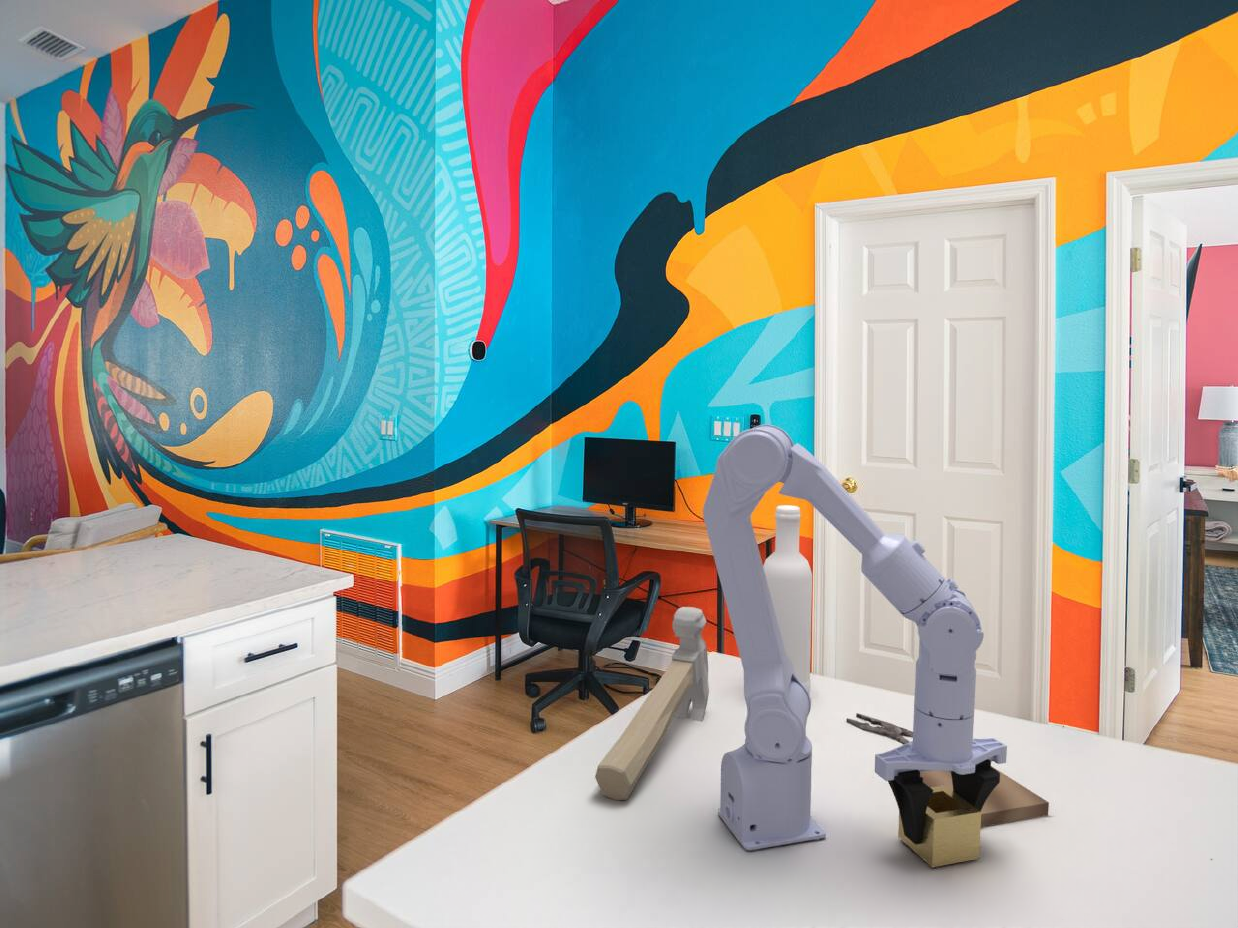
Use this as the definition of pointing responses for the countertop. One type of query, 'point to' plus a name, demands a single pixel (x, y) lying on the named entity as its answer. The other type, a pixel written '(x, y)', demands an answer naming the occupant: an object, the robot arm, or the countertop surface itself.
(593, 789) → the countertop surface
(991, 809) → the post board
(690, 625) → the hammer
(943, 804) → the collar
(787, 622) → the bottle
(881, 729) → the pliers
